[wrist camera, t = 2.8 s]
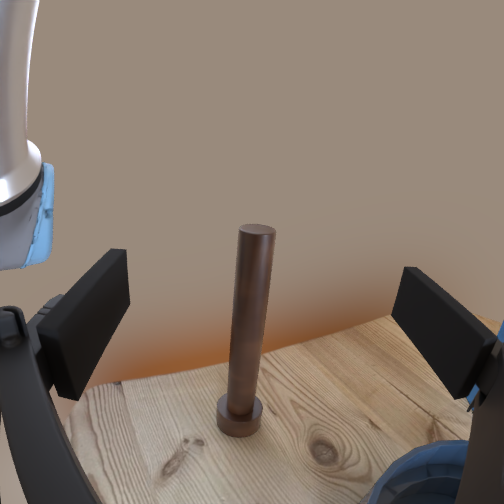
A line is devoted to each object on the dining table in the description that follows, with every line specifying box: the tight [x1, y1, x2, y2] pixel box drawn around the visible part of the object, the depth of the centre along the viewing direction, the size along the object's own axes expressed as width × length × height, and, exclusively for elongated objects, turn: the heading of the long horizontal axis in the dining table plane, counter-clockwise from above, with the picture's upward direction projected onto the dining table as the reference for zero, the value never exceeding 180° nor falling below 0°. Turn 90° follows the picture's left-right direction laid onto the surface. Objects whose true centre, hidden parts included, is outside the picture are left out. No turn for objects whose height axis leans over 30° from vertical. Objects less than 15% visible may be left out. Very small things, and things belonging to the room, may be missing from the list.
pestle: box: [217, 224, 276, 437], centre depth 26 cm, size 4×4×20 cm
